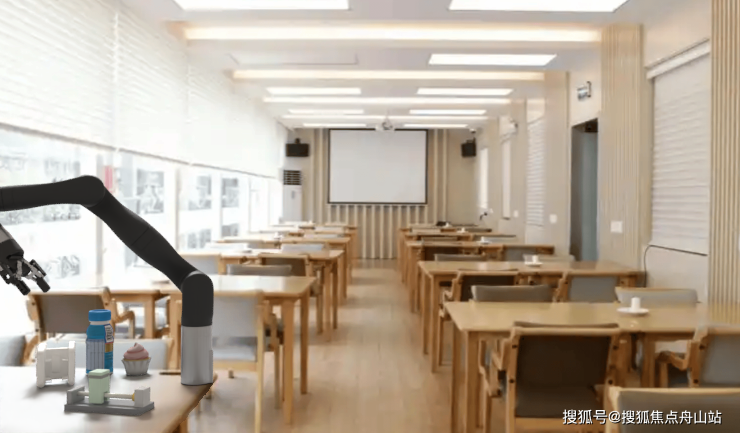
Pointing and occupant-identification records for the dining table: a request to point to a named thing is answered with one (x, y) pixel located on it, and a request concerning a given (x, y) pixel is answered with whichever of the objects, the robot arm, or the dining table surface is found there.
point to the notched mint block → (99, 385)
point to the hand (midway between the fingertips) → (37, 292)
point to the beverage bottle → (99, 341)
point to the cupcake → (136, 360)
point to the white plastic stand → (55, 363)
